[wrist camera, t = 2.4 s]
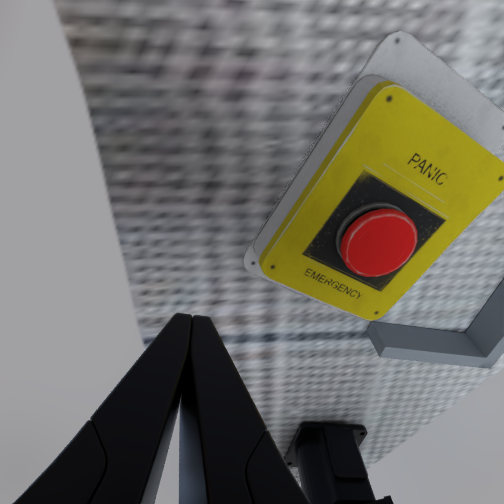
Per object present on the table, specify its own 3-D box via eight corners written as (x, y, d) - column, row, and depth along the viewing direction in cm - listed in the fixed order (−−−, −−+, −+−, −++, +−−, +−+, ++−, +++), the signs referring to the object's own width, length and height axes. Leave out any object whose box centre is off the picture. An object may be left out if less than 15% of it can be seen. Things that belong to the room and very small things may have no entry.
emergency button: (239, 305, 18) (440, 12, 12) (236, 261, 22) (388, 21, 16) (369, 356, 21) (585, 141, 15) (347, 310, 25) (512, 122, 19)
